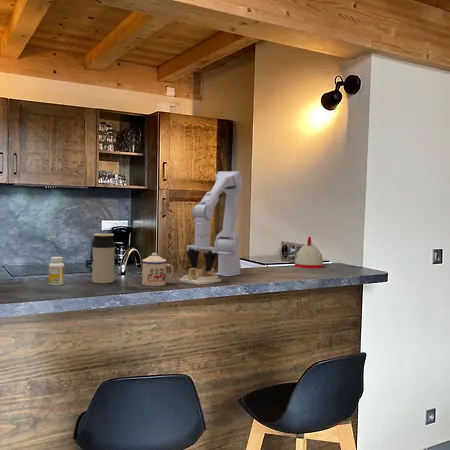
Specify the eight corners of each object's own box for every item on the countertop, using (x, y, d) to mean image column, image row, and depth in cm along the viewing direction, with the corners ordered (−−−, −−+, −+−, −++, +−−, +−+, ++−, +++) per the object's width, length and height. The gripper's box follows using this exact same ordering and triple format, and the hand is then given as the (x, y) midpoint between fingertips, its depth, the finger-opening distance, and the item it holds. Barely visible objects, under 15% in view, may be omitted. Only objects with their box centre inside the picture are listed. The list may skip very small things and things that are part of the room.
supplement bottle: (59, 282, 181) (59, 256, 180) (67, 284, 177) (67, 257, 177) (45, 284, 177) (45, 257, 176) (53, 285, 173) (54, 258, 173)
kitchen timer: (292, 267, 241) (293, 236, 241) (296, 264, 255) (297, 235, 254) (321, 269, 237) (322, 238, 237) (324, 265, 250) (325, 236, 250)
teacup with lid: (146, 287, 175) (146, 254, 175) (138, 283, 183) (138, 252, 183) (177, 285, 181) (178, 253, 180) (168, 281, 189) (168, 251, 188)
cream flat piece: (200, 278, 199) (200, 272, 199) (221, 281, 192) (221, 275, 192) (179, 281, 190) (179, 275, 190) (199, 284, 183) (199, 278, 183)
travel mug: (116, 280, 187) (117, 233, 187) (109, 284, 180) (110, 235, 179) (96, 280, 188) (97, 233, 187) (88, 283, 180) (89, 234, 180)
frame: (204, 276, 197) (204, 266, 196) (213, 278, 193) (214, 268, 193) (188, 278, 190) (188, 268, 190) (197, 280, 187) (198, 270, 186)
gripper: (181, 234, 193) (181, 268, 193) (208, 236, 183) (208, 273, 184) (194, 233, 198) (193, 267, 199) (221, 236, 188) (220, 271, 189)
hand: (201, 270), depth 192 cm, fingers open, 7 cm apart
